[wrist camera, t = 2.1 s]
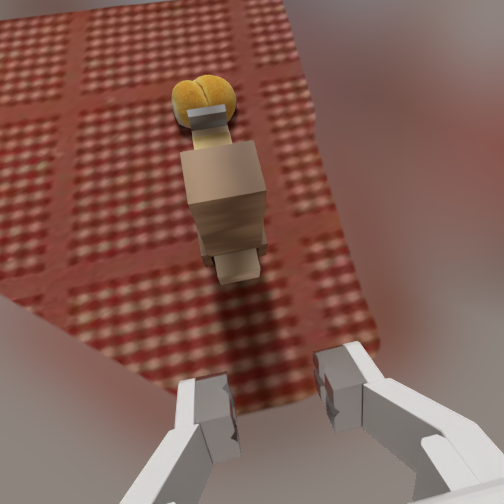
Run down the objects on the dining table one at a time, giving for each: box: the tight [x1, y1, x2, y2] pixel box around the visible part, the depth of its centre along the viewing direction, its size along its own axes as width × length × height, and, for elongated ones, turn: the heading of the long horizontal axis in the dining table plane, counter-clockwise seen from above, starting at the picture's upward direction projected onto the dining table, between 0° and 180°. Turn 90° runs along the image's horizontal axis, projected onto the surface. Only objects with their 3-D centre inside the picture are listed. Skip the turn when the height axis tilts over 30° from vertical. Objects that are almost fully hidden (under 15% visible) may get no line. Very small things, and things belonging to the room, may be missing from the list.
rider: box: [180, 140, 268, 267], centre depth 26 cm, size 6×4×13 cm, turn 102°
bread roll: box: [172, 75, 236, 128], centre depth 42 cm, size 8×9×4 cm
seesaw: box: [187, 104, 260, 285], centre depth 33 cm, size 6×18×9 cm, turn 12°
